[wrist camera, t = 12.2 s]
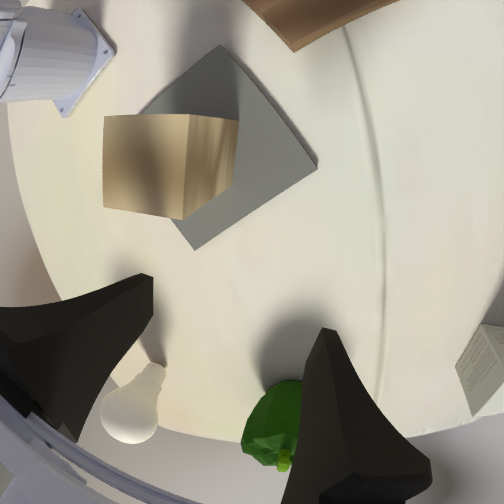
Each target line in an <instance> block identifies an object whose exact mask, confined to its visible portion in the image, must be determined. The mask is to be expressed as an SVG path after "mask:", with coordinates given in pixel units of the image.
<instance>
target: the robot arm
mask: <svg viewBox="0 0 504 504" xmlns="http://www.w3.org/2000/svg"><path fill="white" fill-rule="evenodd" d="M107 50H108V52H107ZM106 52H107V53H106ZM114 56H115V51H114V50H113V49H112V47H111V46H110V45H109V43H108V42H107V41H106V40H105V38H104V37H103V36H102V34H101V33H100V32H99V31H98V29H97V28H96V27H95V25H94V24H93V23H92V22H91V20H90V19H89V18H88V17H87V15H86V14H85V13H84V11H83V10H82V9H81V8H77V9H76V10H75V11H74V12H73V13H72V14H71V15H70V14H66V13H62V12H58V11H53V10H49V9H44V8H39V7H33V6H27V7H21V2H20V1H19V0H0V104H1V103H11V102H21V101H33V100H51V99H52V100H53V102H54V104H55V106H56V107H57V109H58V111H59V113H60V115H61V116H62V118H67V117H68V116H69V114H70V113H71V111H72V110H73V108H74V107H75V106H76V104H77V103H78V101H79V100H80V99H81V97H82V96H83V95H84V93H85V92H86V91H87V89H88V88H89V87H90V85H91V84H92V83H93V81H94V80H95V79H96V78H97V76H98V75H99V74H100V73H101V72H102V70H103V69H104V68H105V67H106V66H107V64H108V63H109V62H110V61H111V60H112V59H113V57H114ZM63 108H64V110H63ZM152 316H153V277H151V276H148V275H145V274H143V273H140V274H137V275H134V276H132V277H129V278H126V279H124V280H121V281H119V282H116V283H114V284H111V285H109V286H106V287H104V288H101V289H99V290H96V291H93V292H90V293H87V294H84V295H82V296H78V297H75V298H72V299H68V300H64V301H60V302H55V303H49V304H43V305H37V306H28V307H0V461H1V462H2V463H3V464H4V465H5V466H6V467H7V468H8V469H9V470H10V471H11V472H12V473H13V474H14V476H15V477H14V478H13V480H12V482H11V483H10V484H9V486H8V487H7V489H6V490H5V492H4V494H3V495H2V497H1V498H0V504H119V503H117V502H115V501H113V500H111V499H109V498H107V497H105V496H104V495H102V494H100V493H98V492H97V491H95V490H93V489H91V488H90V487H88V486H87V485H86V484H87V480H86V479H84V478H83V477H82V476H80V475H79V474H78V473H77V472H76V471H75V470H73V468H72V467H71V466H70V465H69V463H67V462H66V461H65V460H63V459H62V458H61V457H60V456H58V455H57V454H56V453H55V452H53V451H52V449H54V450H55V451H57V452H58V453H60V454H61V455H62V456H63V457H65V458H66V459H68V460H69V461H71V462H72V463H74V464H75V465H77V466H78V467H80V468H81V469H83V470H84V471H86V472H88V473H89V474H91V475H93V476H94V477H96V478H98V479H99V480H101V481H103V482H105V483H106V484H108V485H110V486H112V487H114V488H116V489H118V490H119V491H121V492H123V493H125V494H127V495H130V496H132V497H134V498H136V499H138V500H140V501H142V502H145V503H147V504H202V503H199V502H196V501H192V500H190V499H186V498H184V497H181V496H178V495H175V494H173V493H170V492H167V491H165V490H162V489H160V488H158V487H155V486H153V485H150V484H148V483H146V482H144V481H141V480H139V479H137V478H135V477H133V476H131V475H129V474H127V473H125V472H123V471H121V470H119V469H117V468H115V467H113V466H111V465H110V464H108V463H106V462H104V461H102V460H101V459H99V458H97V457H96V456H94V455H92V454H91V453H89V452H87V451H86V450H84V449H83V448H81V447H79V446H78V445H76V444H75V443H77V442H78V439H79V436H80V434H81V431H82V429H83V426H84V424H85V421H86V419H87V417H88V415H89V412H90V410H91V408H92V406H93V404H94V402H95V400H96V398H97V396H98V394H99V393H100V391H101V389H102V387H103V385H104V384H105V382H106V380H107V379H108V377H109V375H110V374H111V372H112V371H113V369H114V368H115V366H116V365H117V364H118V363H119V361H120V360H121V359H122V358H123V356H124V355H125V354H126V353H127V351H128V350H129V349H130V348H131V346H132V345H133V344H134V343H135V341H136V340H137V339H138V337H139V336H140V335H141V334H142V332H143V331H144V329H145V328H146V326H147V324H148V323H149V321H150V319H151V317H152ZM51 448H52V449H51ZM431 484H432V471H431V464H430V459H428V458H427V457H426V456H425V455H424V454H422V453H421V452H420V451H419V450H417V449H416V448H415V447H414V446H413V445H411V444H410V443H409V442H408V441H407V440H406V439H405V438H404V437H403V436H402V435H401V434H400V433H399V432H398V431H397V430H396V429H395V428H394V426H393V425H392V424H391V423H390V422H389V421H388V419H387V418H386V417H385V416H384V415H383V413H382V412H381V411H380V409H379V408H378V407H377V405H376V404H375V402H374V401H373V400H372V398H371V397H370V395H369V394H368V392H367V390H366V389H365V387H364V385H363V384H362V382H361V380H360V379H359V377H358V375H357V373H356V371H355V369H354V367H353V365H352V363H351V361H350V359H349V357H348V355H347V353H346V350H345V348H344V346H343V344H342V342H341V339H340V337H339V335H338V333H337V331H335V330H331V329H327V328H323V327H322V329H321V331H320V333H319V335H318V338H317V340H316V342H315V344H314V346H313V348H312V350H311V352H310V355H309V357H308V359H307V361H306V365H305V370H304V376H303V382H302V395H301V411H300V426H299V434H298V440H297V445H296V449H295V454H294V458H293V463H292V467H291V471H290V474H289V478H288V482H287V485H286V488H285V492H284V495H283V498H282V501H281V504H405V501H406V500H408V499H410V498H412V497H414V496H416V495H417V494H419V493H421V492H423V491H424V490H426V489H427V488H428V487H429V486H430V485H431Z"/></svg>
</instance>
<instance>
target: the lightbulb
mask: <svg viewBox="0 0 504 504" xmlns="http://www.w3.org/2000/svg"><path fill="white" fill-rule="evenodd" d="M165 377H166V371H165V369H164V368H163V367H162V366H161V365H160V364H157V363H149V364H148V365H147V366H146V367H145V368H144V370H143V371H142V372H141V373H139V374H138V375H137V376H136V377H135V378H134V379H133V380H132V381H131V382H130V383H128V384H127V385H125V386H122V387H119V388H117V389H115V390H113V391H111V392H109V393H108V394H107V395H106V396H105V397H104V398H103V400H102V403H101V405H100V419H101V422H102V424H103V426H104V428H105V429H106V430H107V432H108V433H109V434H110V435H111V436H112V437H114V438H115V439H117V440H119V441H121V442H125V443H130V444H131V443H132V444H135V443H140V442H143V441H146V440H147V439H148V438H150V437H151V436H152V435H153V434H154V432H155V430H156V427H157V423H158V413H157V399H158V396H159V393H160V391H161V385H162V383H163V381H164V379H165Z"/></svg>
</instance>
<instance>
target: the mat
mask: <svg viewBox="0 0 504 504" xmlns="http://www.w3.org/2000/svg"><path fill="white" fill-rule="evenodd" d="M142 114H190V115H199V116H208V117H215V118H223V119H230V120H236V121H239V128H238V137H237V146H236V155H235V164H234V173H233V182H232V186H231V187H229V188H228V189H226V190H225V191H223V192H222V193H220V194H219V195H218V196H216V197H215V198H213V199H212V200H210V201H209V202H207V203H206V204H205V205H203V206H202V207H200V208H199V209H198V210H196V211H195V212H193V213H192V214H191V215H189V216H188V217H186V218H185V219H184V220H178V219H173V218H170V219H171V220H172V221H173V223H174V224H175V225H176V227H177V228H178V229H179V231H180V232H181V233H182V235H183V236H184V237H185V239H186V240H187V241H188V242H189V244H190V245H191V246H192V248H193V249H194V250H197V249H198V248H200V247H201V246H203V245H204V244H205V243H207V242H208V241H210V240H211V239H213V238H214V237H216V236H217V235H219V234H220V233H221V232H223V231H224V230H226V229H227V228H229V227H230V226H232V225H233V224H235V223H236V222H238V221H239V220H241V219H242V218H244V217H245V216H247V215H248V214H250V213H251V212H253V211H254V210H256V209H257V208H259V207H260V206H262V205H263V204H265V203H266V202H268V201H269V200H271V199H272V198H274V197H275V196H277V195H278V194H280V193H281V192H283V191H284V190H286V189H288V188H289V187H291V186H292V185H294V184H295V183H297V182H298V181H300V180H302V179H303V178H305V177H306V176H308V175H309V174H311V173H313V172H314V171H316V170H317V169H318V168H317V167H316V165H315V164H314V162H313V161H312V159H311V158H310V156H309V155H308V153H307V152H306V151H305V149H304V148H303V146H302V145H301V143H300V142H299V141H298V139H297V138H296V136H295V135H294V134H293V132H292V131H291V130H290V128H289V127H288V126H287V124H286V123H285V122H284V120H283V119H282V118H281V116H280V115H279V114H278V112H277V111H276V110H275V108H274V107H273V106H272V105H271V103H270V102H269V101H268V100H267V98H266V97H265V96H264V95H263V93H262V92H261V91H260V90H259V88H258V87H257V86H256V85H255V84H254V82H253V81H252V80H251V79H250V78H249V76H248V75H247V74H246V73H245V72H244V70H243V69H242V68H241V67H240V66H239V65H238V64H237V62H236V61H235V60H234V59H233V58H232V57H231V56H230V55H229V53H228V52H227V51H226V50H225V49H224V48H223V47H222V46H221V45H219V46H218V47H216V48H215V49H214V50H212V51H211V52H210V53H208V54H207V55H206V56H205V57H203V58H202V59H201V60H200V61H198V62H197V63H196V64H195V65H194V66H192V67H191V68H190V69H189V70H188V71H187V72H185V73H184V74H183V75H182V76H181V77H180V78H179V79H177V80H176V81H175V82H174V83H173V84H172V85H171V86H170V87H169V88H168V89H167V90H165V91H164V92H163V93H162V94H161V95H160V96H159V97H158V98H157V99H156V100H155V101H154V102H153V103H152V104H151V105H150V106H149V107H148V108H147V109H146V110H145V111H144V112H143V113H142Z"/></svg>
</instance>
